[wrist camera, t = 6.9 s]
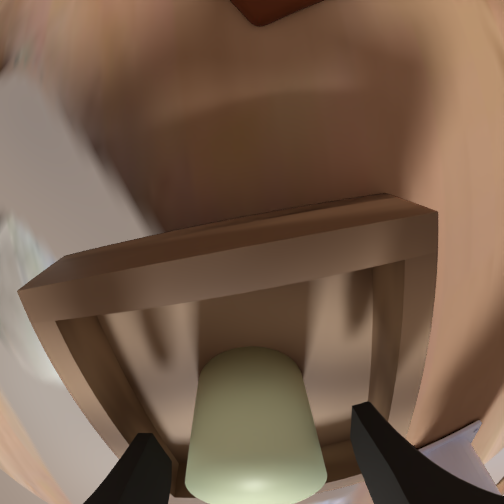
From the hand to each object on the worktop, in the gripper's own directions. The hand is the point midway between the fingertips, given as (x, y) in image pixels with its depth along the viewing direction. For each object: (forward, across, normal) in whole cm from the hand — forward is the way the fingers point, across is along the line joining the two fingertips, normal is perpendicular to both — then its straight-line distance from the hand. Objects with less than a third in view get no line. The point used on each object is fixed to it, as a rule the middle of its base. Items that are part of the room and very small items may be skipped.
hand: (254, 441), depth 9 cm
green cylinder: (+3, 0, 0) cm, 3 cm away
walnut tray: (+4, 0, 0) cm, 4 cm away
